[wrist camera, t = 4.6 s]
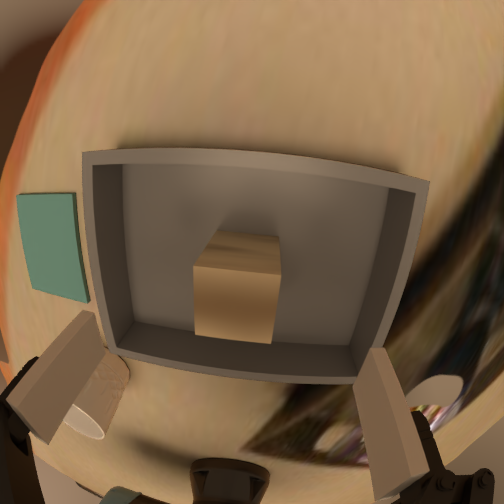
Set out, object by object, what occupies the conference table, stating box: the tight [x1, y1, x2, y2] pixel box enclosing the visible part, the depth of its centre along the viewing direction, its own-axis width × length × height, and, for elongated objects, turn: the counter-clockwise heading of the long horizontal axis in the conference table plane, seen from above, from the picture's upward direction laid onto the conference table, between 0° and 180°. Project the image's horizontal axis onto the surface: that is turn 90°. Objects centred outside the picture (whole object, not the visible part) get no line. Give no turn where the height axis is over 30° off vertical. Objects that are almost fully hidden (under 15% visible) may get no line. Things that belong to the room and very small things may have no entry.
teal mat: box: [16, 193, 90, 303], centre depth 24 cm, size 12×10×1 cm
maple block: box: [193, 230, 281, 344], centre depth 20 cm, size 5×5×7 cm
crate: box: [82, 147, 430, 384], centre depth 21 cm, size 18×24×5 cm
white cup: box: [63, 347, 130, 439], centre depth 26 cm, size 8×8×10 cm
